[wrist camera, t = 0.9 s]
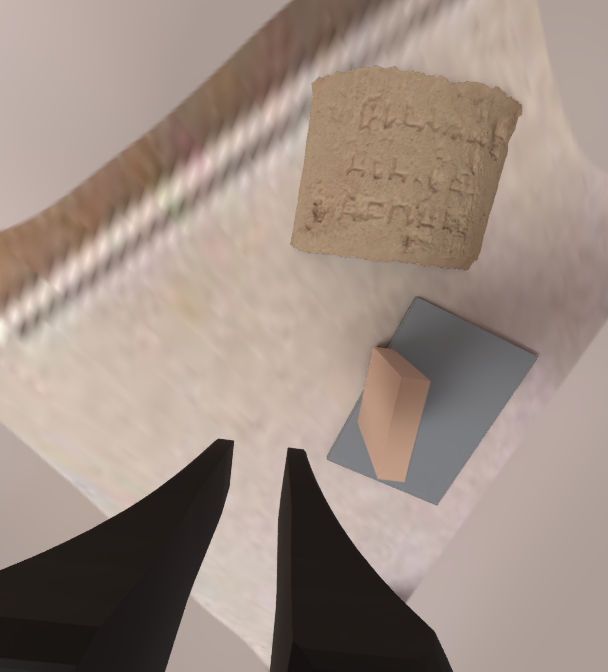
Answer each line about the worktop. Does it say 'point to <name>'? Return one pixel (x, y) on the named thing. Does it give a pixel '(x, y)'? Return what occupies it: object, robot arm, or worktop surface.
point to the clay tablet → (401, 166)
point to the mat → (443, 397)
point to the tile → (392, 412)
